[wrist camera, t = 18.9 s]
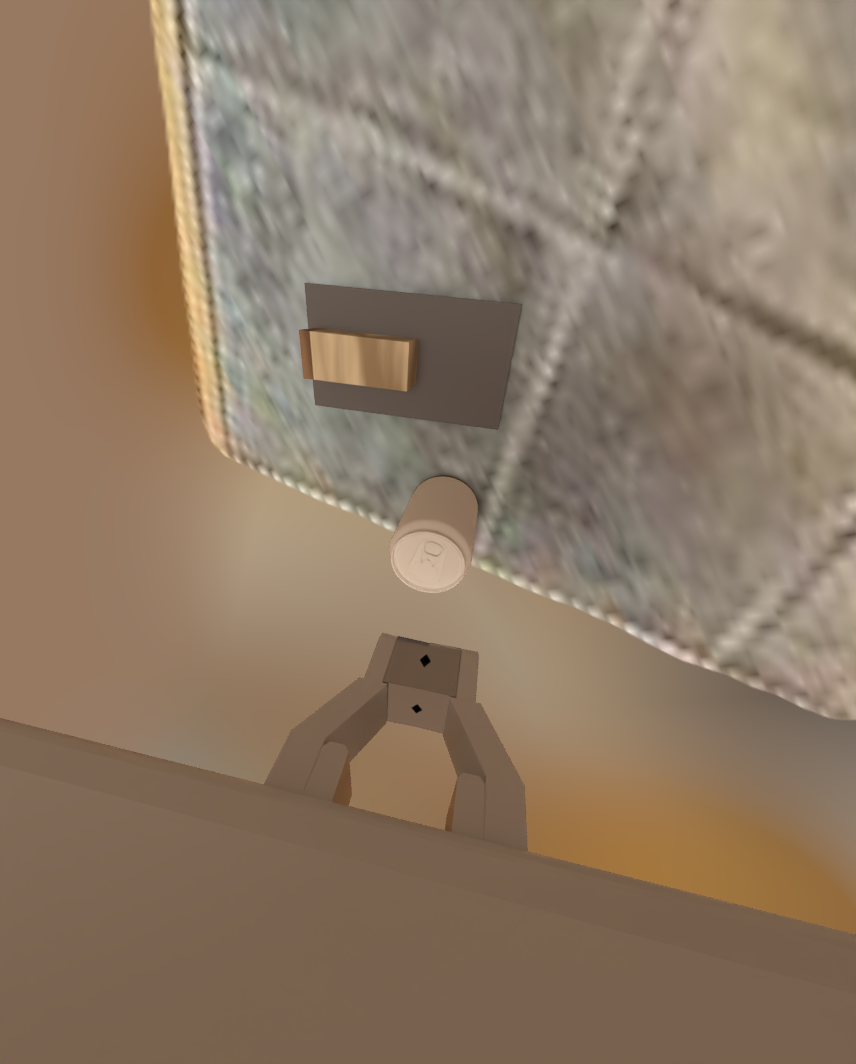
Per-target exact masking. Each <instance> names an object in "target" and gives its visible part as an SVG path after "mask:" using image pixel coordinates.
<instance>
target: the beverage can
mask: <svg viewBox="0 0 856 1064" xmlns="http://www.w3.org/2000/svg"><path fill="white" fill-rule="evenodd" d="M477 514H478V504H477V500H476V497H475V495H474V493H473V492H472V490H471V489H470V488H469V487H468V486H467V485H466V484H464V483H463V482H461V481H459V480H457V479H454V478H451V477H434V478H431V479H428V480H426V481H424V482H423V483H421V484H420V485H419V486H418V487H417V489H416V490H415V492H414V493H413V496H412V498H411V500H410V502H409V504H408V506H407V508H406V510H405V512H404V514H403V516H402V518H401V520H400V522H399V524H398V527H397V529H396V531H395V533H394V535H393V537H392V540H391V543H390V557H391V564H392V567H393V570H394V572H395V573H396V575H397V576H398V577H399V579H400V580H401V581H402V582H404V583H405V584H406V585H408V586H410V587H411V588H413V589H416V590H419V591H422V592H428V593H438V592H444V591H447V590H449V589H451V588H453V587H454V586H456V585H457V584H458V583H459V582H460V581H461V579H462V578H463V577H464V576H465V575H466V573H467V572H468V570H469V568H470V566H471V561H472V554H473V546H474V538H475V530H476V522H477Z"/></svg>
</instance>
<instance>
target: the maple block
mask: <svg viewBox="0 0 856 1064" xmlns="http://www.w3.org/2000/svg"><path fill="white" fill-rule="evenodd" d="M299 336H300V346H301V356H302V366H303V376H304V378H305V379H313V380H321V381H328V382H336V383H344V384H352V385H360V386H368V387H375V388H383V389H391V390H399V391H408V390H409V389H410V388H411V387H413V386H414V385H415V384H416V370H417V354H418V339H414V338H405V337H396V336H387V335H378V334H369V333H360V332H351V331H342V330H333V329H324V328H313V329H304V330H299Z"/></svg>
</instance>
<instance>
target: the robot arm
mask: <svg viewBox="0 0 856 1064" xmlns="http://www.w3.org/2000/svg"><path fill="white" fill-rule="evenodd" d="M478 659H479V654H478V652H475V651H470V650H465V649H461V648H456V647H450V646H446V645H440V644H435V643H426V642H422V641H417V640H413V639H409V638H404V637H400V636H395V635H390V634H385V633H382V634H381V636H380V637H379V640H378V642H377V645H376V648H375V651H374V653H373V656H372V658H371V661H370V664H369V667H368V669H367V672H366V674H365V677H364V678H358V679H357V680H356V681H354V682H353V683H352V684H350V685H349V686H348V687H347V688H345V689H344V690H343V691H341V692H340V693H339V694H337V695H336V696H335V697H334V698H332V699H331V700H330V701H328V702H327V703H326V704H325V705H323V706H322V707H321V708H319V709H318V710H317V711H316V712H314V713H313V714H312V715H310V716H309V717H308V718H307V719H305V720H304V721H303V722H301V723H300V724H299V725H298V726H296V727H295V728H294V729H292V730H291V732H290V734H289V736H288V738H287V740H286V742H285V744H284V746H283V747H282V750H281V752H280V754H279V755H278V758H277V759H276V761H275V763H274V765H273V767H272V769H271V771H270V773H269V775H268V777H267V779H266V781H265V783H264V784H260V783H256V782H252V781H248V780H244V779H240V778H236V777H232V776H228V775H224V774H220V773H216V772H212V771H208V770H204V769H200V768H197V767H193V766H188V765H185V764H181V763H177V762H173V761H168V760H165V759H160V758H157V757H153V756H149V755H145V754H141V753H137V752H133V751H129V750H125V749H121V748H117V747H113V746H110V745H105V744H101V743H97V742H93V741H90V740H85V739H82V738H78V737H74V736H70V735H66V734H62V733H58V732H54V731H50V730H46V729H42V728H38V727H34V726H30V725H26V724H22V723H18V722H14V721H10V720H6V719H2V718H0V1064H856V934H852V933H848V932H844V931H840V930H836V929H832V928H828V927H824V926H820V925H817V924H813V923H809V922H805V921H801V920H797V919H793V918H789V917H785V916H781V915H777V914H773V913H769V912H765V911H761V910H757V909H753V908H749V907H745V906H742V905H738V904H734V903H730V902H726V901H722V900H718V899H714V898H710V897H706V896H702V895H698V894H694V893H690V892H686V891H682V890H678V889H674V888H670V887H667V886H663V885H659V884H655V883H651V882H647V881H643V880H639V879H634V878H631V877H627V876H623V875H619V874H615V873H611V872H607V871H603V870H599V869H596V868H592V867H587V866H584V865H580V864H575V863H572V862H568V861H564V860H560V859H556V858H552V857H548V856H544V855H540V854H536V853H532V852H528V850H527V849H528V848H527V828H526V805H525V786H524V784H523V782H522V780H521V778H520V776H519V774H518V772H517V771H516V769H515V767H514V765H513V763H512V761H511V759H510V757H509V756H508V754H507V752H506V750H505V748H504V746H503V744H502V743H501V741H500V739H499V737H498V735H497V733H496V731H495V729H494V728H493V726H492V724H491V722H490V720H489V718H488V716H487V714H486V713H485V711H484V709H483V707H482V705H481V704H480V703H477V702H476V689H477V675H478ZM386 721H390V722H394V723H400V724H405V725H410V726H415V727H419V728H423V729H427V730H431V731H435V732H439V733H443V737H444V740H445V743H446V746H447V748H448V751H449V754H450V757H451V760H452V762H453V765H454V768H455V771H456V774H457V777H458V778H457V781H456V785H455V788H454V792H453V795H452V799H451V803H450V806H449V810H448V813H447V817H446V824H445V830H442V829H438V828H434V827H430V826H426V825H422V824H418V823H414V822H410V821H406V820H402V819H398V818H394V817H390V816H386V815H382V814H378V813H374V812H370V811H366V810H363V809H358V808H355V807H351V806H349V803H350V799H351V796H352V791H351V790H352V789H351V777H350V761H351V760H352V759H353V758H354V757H355V756H356V755H357V754H358V753H359V752H360V751H361V750H362V748H363V747H364V746H365V745H366V744H367V743H368V742H369V741H370V740H371V739H372V738H373V737H374V736H375V735H376V734H377V732H378V731H379V730H380V729H381V728H382V727H383V726H384V725H385V724H386Z"/></svg>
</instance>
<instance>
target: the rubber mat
mask: <svg viewBox="0 0 856 1064" xmlns="http://www.w3.org/2000/svg"><path fill="white" fill-rule="evenodd" d="M305 293H306V305H307V316H308V328H309V329H313V328H324V329H333V330H342V331H351V332H360V333H369V334H378V335H387V336H396V337H405V338H414V339H418V354H417V370H416V384H415V385H414V386H413V387H411V388H410V389H409V390H408V391H399V390H391V389H383V388H375V387H368V386H360V385H352V384H344V383H336V382H328V381H321V380H313V386H314V397H315V405H319V406H327V407H334V408H341V409H349V410H356V411H364V412H371V413H378V414H386V415H393V416H401V417H408V418H416V419H423V420H430V421H438V422H445V423H453V424H460V425H468V426H475V427H482V428H490V429H497V430H498V427H499V422H500V416H501V411H502V406H503V401H504V395H505V390H506V385H507V380H508V375H509V369H510V364H511V359H512V354H513V348H514V343H515V338H516V333H517V327H518V322H519V317H520V312H521V306H522V304H515V303H504V302H494V301H484V300H474V299H463V298H453V297H443V296H433V295H423V294H412V293H402V292H392V291H382V290H371V289H361V288H351V287H341V286H330V285H320V284H310V283H305Z"/></svg>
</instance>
